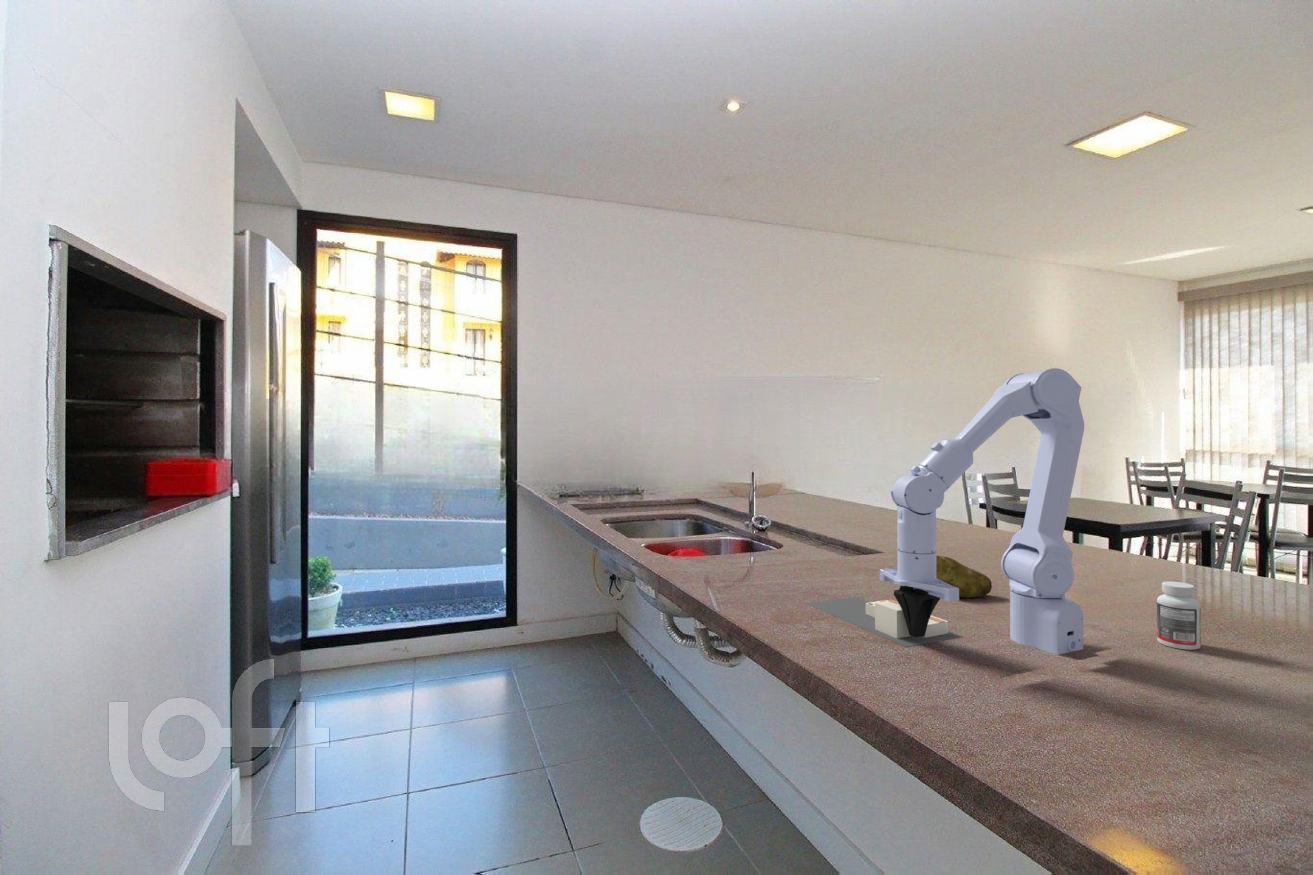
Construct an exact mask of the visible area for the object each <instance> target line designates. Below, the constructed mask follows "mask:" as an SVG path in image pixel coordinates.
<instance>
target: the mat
mask: <svg viewBox="0 0 1313 875" xmlns="http://www.w3.org/2000/svg"><path fill="white" fill-rule="evenodd" d="M869 602H870V601H868V600H865V599H863V598H859V597H858V596H857V597H856V596H850V597H845V598H843V597H842V598H836V599H829V600H821V601H815V602H814V601H813V602H807V603H805V604H806V605H807V606H810V607H812V608H815V609H816V610H819V611H822V612H824V613H826V614H828V615H831V616H833V617H835V618H838V619H839V620H842V621H845V622H847V623H850V624H851V625H854V626H856V627H858V628H861V629H864V630H866V631H867V632H870V633H872V634H874V635H877V636H880V637H882V638H884V639H886V640H888V641H891V642H894V643H896V644H898V645H900V646H902V647H905V648H909V647H913V646H921V645H924V644H930V643H935V642H941V641H946V640H952V639H957V638H963V637H964V636H963V635H960V634H957V633H955V632H951V631H950V630H948V634H942V635H937V636H931V637H926V638H925V637H923V636H922V637H913V636H908V637H902V638H895V637H892V636H890V635H888V634H885V633H883V632H880V631H878V630H876V629H875V617H872V616H870V615H867V614H866V603H869Z"/></svg>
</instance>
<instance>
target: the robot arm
mask: <svg viewBox="0 0 1313 875" xmlns="http://www.w3.org/2000/svg"><path fill="white" fill-rule="evenodd" d="M1081 391H1082V386H1081V385H1080V384H1079V383H1078V382H1077V380H1076V379H1075V378H1074V377H1073V376H1072V375H1071V374H1070V373H1069V372H1068V371H1066V370H1064V369H1061V368H1056V367H1054V368H1049V369H1045V370H1040V371H1034V372H1027V373H1026V372H1025V373H1016V374H1013V375H1012V376H1010V377H1009V378H1008V379H1007V380H1006V381H1005V382H1004V384H1002V385H1000V386H999V387H997V389H995V391H994V393H993V395H992V397H990V399H989V400H988V401H987V402H986V403H985V404H984V406H983V407H982V408H981V409H979V411H978V412H977V414H975V416H974V417H973V418H972V419H971V420H970V421H969V423H967V425H965V427H964V428H963V429H962V430H961V431H960V432H959V433H958V434H957V436H956V437H955V438H954V439H953V438H952V439H951V438H950V439H949V438H947V439H946V438H945V439H943V440H941V441H940V442H937V441H936V442H934V443H933V444H932V445H931V446H930V447H929V448H930V450H931V451H930V452H929V453H928V455H927V456H925V457H924V459H923V460H921V462H919V463H918V464H917V465H913V466H912V467H911V468H910V470H909V471H911V472H910V473H911V474H907V475H903V476H901V477H900V478H899V479H897V480H896V482H895V483H894V485H893V486H894V488H893V489H892V490H891V491H890V497H891V500H892V501H893V503H894V504H895V505H896V507H897V519H896V520H897V521H896V522H897V523H896V524H897V525H896V527H897V529H896V530H897V531H896V535H897V537H896V538H897V539H896V540H897V541H896V542H897V543H896V545H897V546H896V547H897V548H896V550H897V555H896V557H897V569H893V568H881V569H879V581H881V582H888V583H891V584H894V585H898V586H900V587H899V588H898V589H895V590H893V596H894V598H895V599H896V601H898V603H899V605H900V607H901V609H902V612H903V614H904V617H905V621H906V624H907V628H908V632H909V635H910V636H913V637H922V636H925V633H926V629H927V625H928V622H929V619H930V616H932V614H933V611H934V610H935V608H936V606H937V604H938V603H939V602H940V600H941V599H943V600H944V602H946V603H947V602H948V603H952V602H953V603H954V602H959V601H960V597H959V588H957V587H954V586H951V585H949V584H947V583H945V582H943V581H941V580H939V579H937V578H936V556H937V510H938V509H939V508H940V507H942V505H943V503H944V498H945V492H947V491H948V489H950V488H951V487H952V486H953V484H955V483H956V481H958V479H960V478H961V477H962V476H963V475H964V474H965V473H966V471H968V470H969V469H970V467H972V466H973V464H974V452H975V451H976V450H977V449H978V448H980V447H981V446H982V445H983V444H984V443H985V442H986V441H987V440H989V438H990V437H992V436H993V435H994V434H995V433H996V432H997V431H999V429H1001V428H1002V427H1003V426H1004V425H1005V424H1006V423H1007V422H1008V421H1009V420H1010V419H1013V418H1017V417H1020V416H1022V417H1024V418H1026V419H1027V420H1028V421H1030V422H1031V423H1032V424H1033V425H1034V427H1035V428H1036V429H1037V430H1038V431H1039V432H1040V434H1041V436H1040V440H1039V445H1038V450H1037V454H1036V461H1035V465H1034V470H1033V475H1032V480H1031V485H1030V489H1029V491H1030V492H1029V496H1028V501H1027V505H1026V509H1025V510H1026V511H1025V515H1024V521H1023V524H1022V528H1021V529H1020V530H1018V531H1017V532H1016V533H1015V534H1014V535H1013V536H1012V537H1011V541H1010V543H1009V546H1008V548H1007V549H1006V551H1005V552H1004V553H1003V555H1002V557H1001V561H1000V565H1001V566H1000V568H1001V571H1002V573H1003V575H1004V576H1005V577H1006V578H1007V579H1008V580H1009V583H1008V584H1009V585H1008V586H1009V589H1010V590H1009V634H1010V635H1009V638H1010V639H1011V640H1012V641H1013V642H1014V643H1018V644H1020V645H1023V646H1028V647H1030V648H1031V647H1032V648H1033V649H1039V650H1042V651H1045V652H1048V653H1050V654H1052V655H1053V654H1054V655H1055V656H1059V655H1064V654H1068V653H1069V654H1070V653H1074V652H1078V651H1081V650H1084V613H1083V610H1082V608H1081V605H1079V604H1078V603H1077V602H1074V601H1071V600H1069V599H1068V598H1067V597H1066V593H1067V592H1068V591H1069V590H1070V588H1071V587H1072V586H1073V584H1074V580H1075V571H1074V569H1073V565H1072V558H1073V550H1072V548H1071V547H1070V545H1069V544H1068V542H1067V541H1066V539H1065V537H1064V532H1065V527H1066V521H1067V516H1068V512H1069V507H1070V503H1071V499H1072V498H1071V497H1072V492H1073V487H1074V482H1075V476H1076V472H1077V466H1078V462H1079V457H1080V452H1081V448H1082V443H1083V436H1084V433H1085V421H1084V416H1083V413H1082V408H1081V405H1080V396H1081Z"/></svg>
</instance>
